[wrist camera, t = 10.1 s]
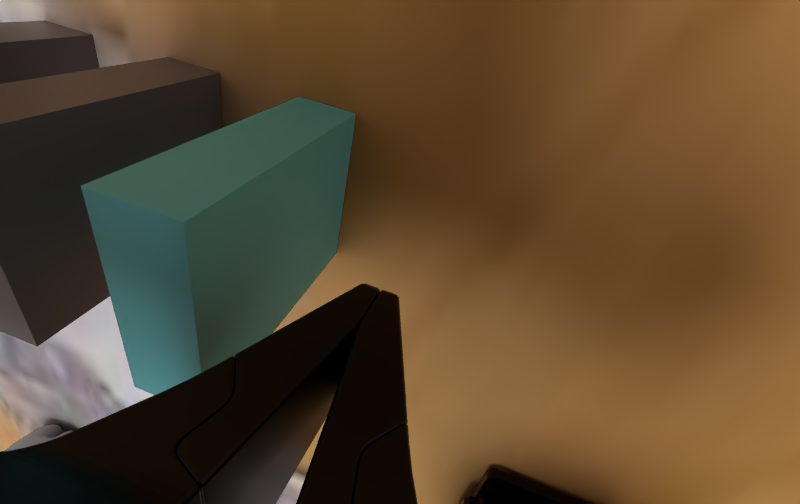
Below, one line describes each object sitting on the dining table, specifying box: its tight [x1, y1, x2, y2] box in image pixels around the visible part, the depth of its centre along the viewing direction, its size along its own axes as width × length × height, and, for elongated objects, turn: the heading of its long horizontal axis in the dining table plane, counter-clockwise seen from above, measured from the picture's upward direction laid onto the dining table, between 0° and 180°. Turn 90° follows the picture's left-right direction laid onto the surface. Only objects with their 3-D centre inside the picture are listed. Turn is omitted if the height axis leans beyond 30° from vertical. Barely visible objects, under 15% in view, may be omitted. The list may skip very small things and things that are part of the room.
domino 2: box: [0, 57, 222, 346], centre depth 11 cm, size 2×5×7 cm, turn 168°
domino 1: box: [81, 97, 356, 395], centre depth 10 cm, size 2×5×7 cm, turn 168°
